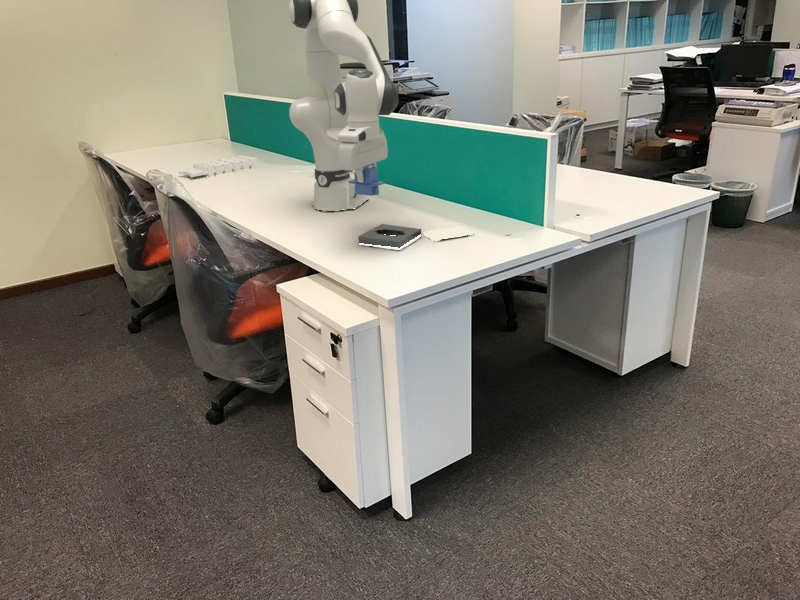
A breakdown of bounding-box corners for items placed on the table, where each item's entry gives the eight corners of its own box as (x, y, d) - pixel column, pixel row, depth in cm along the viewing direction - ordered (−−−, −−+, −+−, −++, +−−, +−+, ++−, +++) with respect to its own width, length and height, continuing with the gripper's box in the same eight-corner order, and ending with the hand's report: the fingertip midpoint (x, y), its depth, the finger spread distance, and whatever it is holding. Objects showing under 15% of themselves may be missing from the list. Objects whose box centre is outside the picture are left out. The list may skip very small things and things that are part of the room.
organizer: (257, 158, 300) (191, 170, 277) (258, 168, 302) (192, 181, 279) (241, 155, 309) (176, 167, 286) (242, 165, 311) (178, 177, 288)
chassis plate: (382, 232, 199) (381, 223, 198) (421, 237, 192) (421, 228, 191) (358, 245, 187) (358, 236, 186) (399, 251, 181) (399, 242, 180)
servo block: (356, 190, 186) (354, 162, 183) (384, 193, 182) (383, 165, 178) (349, 193, 184) (347, 165, 180) (378, 196, 179) (377, 167, 176)
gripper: (373, 125, 185) (375, 172, 191) (333, 136, 169) (337, 186, 175) (392, 126, 182) (393, 174, 188) (353, 137, 166) (356, 188, 172)
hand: (366, 180), depth 181 cm, fingers closed on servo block, 4 cm apart
